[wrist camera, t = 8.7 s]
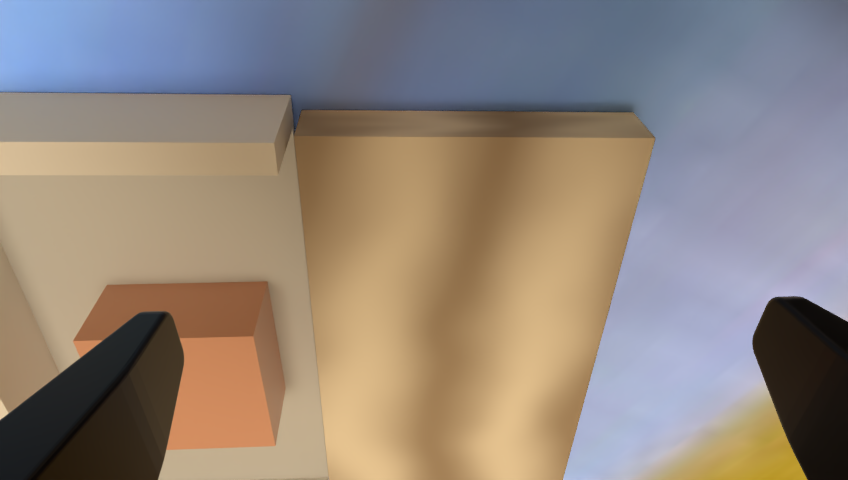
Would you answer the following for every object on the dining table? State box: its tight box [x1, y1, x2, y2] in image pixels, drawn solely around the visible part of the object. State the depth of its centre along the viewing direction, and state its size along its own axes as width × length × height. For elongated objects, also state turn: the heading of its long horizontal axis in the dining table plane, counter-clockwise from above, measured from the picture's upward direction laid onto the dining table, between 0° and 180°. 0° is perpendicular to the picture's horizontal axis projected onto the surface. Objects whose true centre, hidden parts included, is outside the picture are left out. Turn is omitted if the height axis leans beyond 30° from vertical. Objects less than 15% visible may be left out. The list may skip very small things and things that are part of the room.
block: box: [73, 281, 286, 450], centre depth 23 cm, size 6×6×3 cm
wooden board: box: [294, 110, 655, 480], centre depth 25 cm, size 11×20×2 cm, turn 178°
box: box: [0, 92, 329, 480], centre depth 23 cm, size 12×21×4 cm, turn 178°
